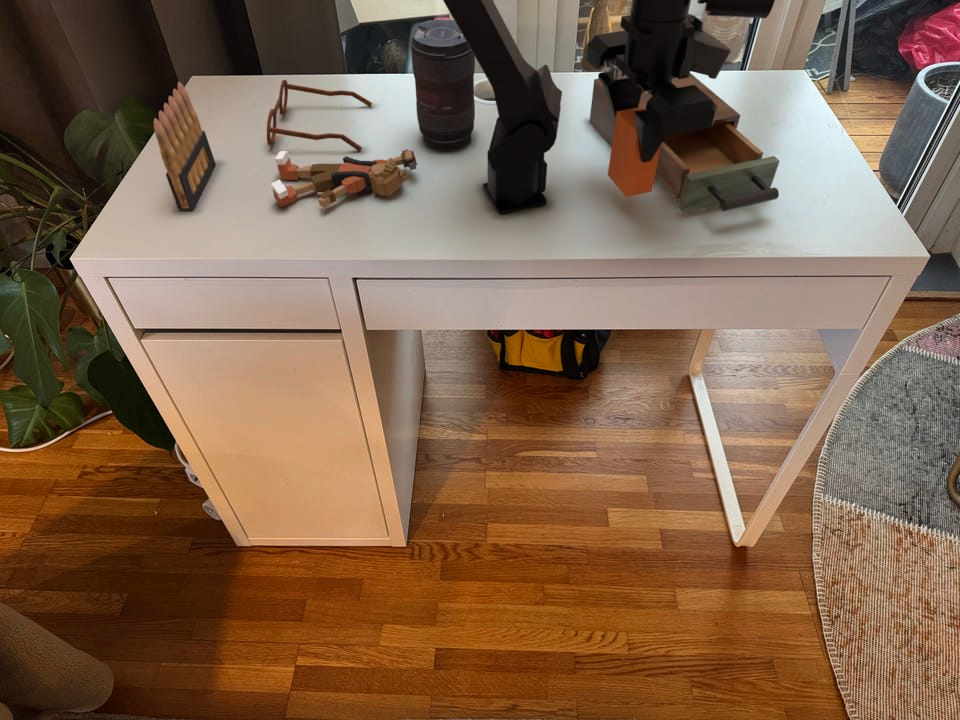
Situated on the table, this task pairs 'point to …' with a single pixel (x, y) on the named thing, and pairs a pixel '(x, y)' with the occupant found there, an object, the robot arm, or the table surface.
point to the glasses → (299, 134)
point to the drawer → (715, 169)
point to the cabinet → (604, 117)
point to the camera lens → (443, 84)
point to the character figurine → (341, 177)
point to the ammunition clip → (184, 149)
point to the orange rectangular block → (630, 157)
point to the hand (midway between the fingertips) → (635, 149)
